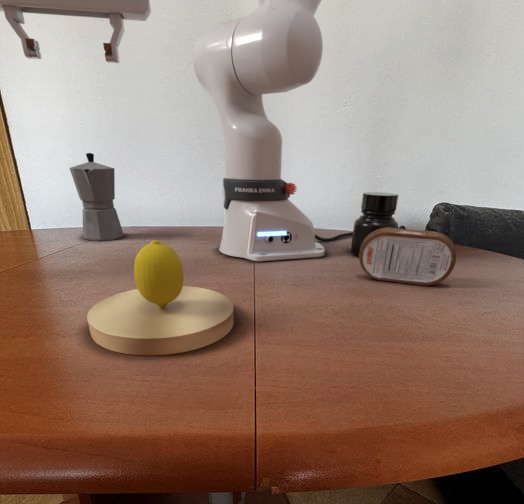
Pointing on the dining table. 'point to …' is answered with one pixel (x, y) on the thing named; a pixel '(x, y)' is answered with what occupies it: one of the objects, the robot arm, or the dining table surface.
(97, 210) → the coffeepot
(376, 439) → the dining table surface
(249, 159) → the robot arm
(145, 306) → the birch disc
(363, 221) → the ink bottle
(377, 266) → the tin
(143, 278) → the lemon
